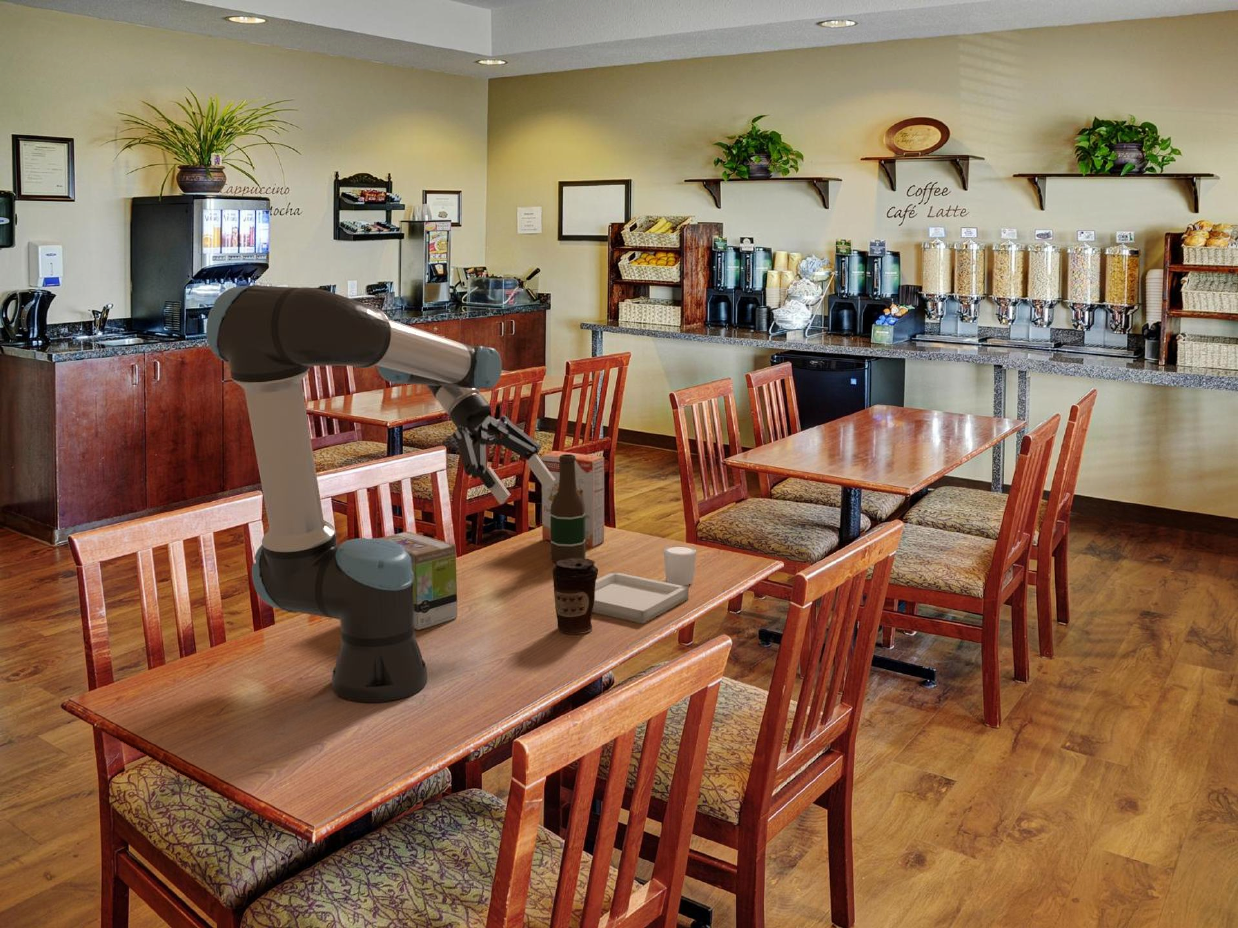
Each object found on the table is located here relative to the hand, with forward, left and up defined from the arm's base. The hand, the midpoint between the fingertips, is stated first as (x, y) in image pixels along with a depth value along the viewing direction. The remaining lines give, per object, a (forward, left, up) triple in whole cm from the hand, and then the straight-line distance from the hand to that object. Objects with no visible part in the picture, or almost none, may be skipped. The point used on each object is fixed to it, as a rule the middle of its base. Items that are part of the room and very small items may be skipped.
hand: (528, 492), depth 208 cm
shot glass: (+35, -13, -25) cm, 45 cm away
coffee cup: (0, -11, -25) cm, 27 cm away
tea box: (-11, +19, -25) cm, 34 cm away
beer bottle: (+34, +15, -25) cm, 45 cm away
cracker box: (+47, +23, -25) cm, 58 cm away
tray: (+18, -11, -25) cm, 32 cm away
